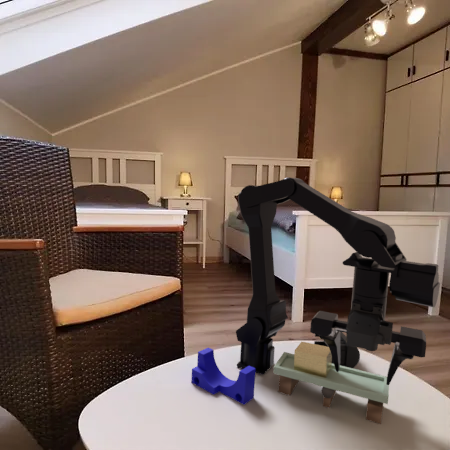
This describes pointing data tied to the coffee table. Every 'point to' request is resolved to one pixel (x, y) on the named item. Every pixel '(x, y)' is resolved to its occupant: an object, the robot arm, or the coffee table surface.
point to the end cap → (344, 352)
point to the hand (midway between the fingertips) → (362, 377)
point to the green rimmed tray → (339, 379)
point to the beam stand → (373, 406)
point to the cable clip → (223, 378)
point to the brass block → (313, 359)
